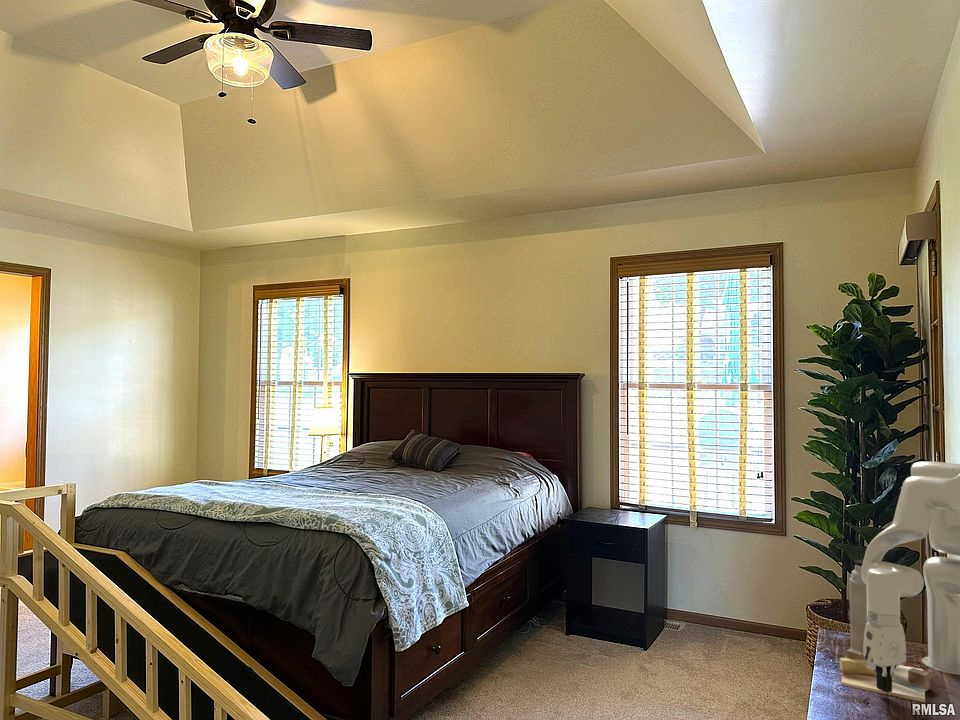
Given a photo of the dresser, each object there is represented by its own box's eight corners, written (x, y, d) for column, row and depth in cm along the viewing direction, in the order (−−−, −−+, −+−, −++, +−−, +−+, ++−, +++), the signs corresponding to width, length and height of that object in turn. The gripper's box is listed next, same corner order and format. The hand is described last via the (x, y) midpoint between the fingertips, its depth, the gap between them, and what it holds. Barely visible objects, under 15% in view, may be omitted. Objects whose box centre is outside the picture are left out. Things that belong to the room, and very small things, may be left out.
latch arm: (873, 671, 192) (873, 660, 193) (876, 674, 190) (876, 663, 190) (839, 668, 194) (839, 657, 194) (842, 671, 192) (842, 660, 192)
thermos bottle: (873, 650, 211) (871, 557, 212) (886, 661, 203) (884, 565, 204) (846, 650, 212) (844, 557, 212) (858, 661, 204) (855, 564, 204)
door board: (846, 659, 205) (845, 642, 205) (928, 675, 194) (927, 656, 194) (841, 686, 187) (840, 667, 187) (931, 705, 176) (931, 685, 176)
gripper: (873, 626, 174) (874, 700, 174) (918, 619, 179) (919, 692, 179) (849, 616, 181) (849, 688, 181) (892, 610, 186) (893, 680, 186)
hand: (884, 689), depth 180 cm, fingers closed
